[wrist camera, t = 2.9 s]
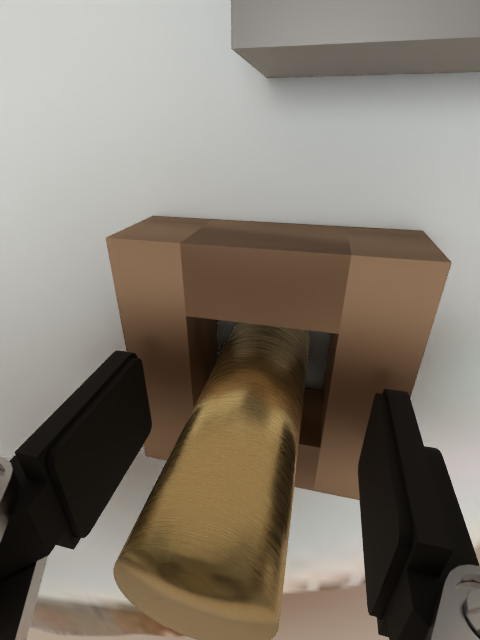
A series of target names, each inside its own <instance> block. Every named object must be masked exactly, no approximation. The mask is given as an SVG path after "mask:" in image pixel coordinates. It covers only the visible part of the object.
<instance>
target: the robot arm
mask: <svg viewBox="0 0 480 640" xmlns="http://www.w3.org/2000/svg"><path fill="white" fill-rule="evenodd" d="M151 428H152V419H151V413H150V407H149V401H148V395H147V388H146V382H145V376H144V370H143V364H142V360H141V359H140V358H138V357H137V355H136V354H135V353H132V352H125V351H115V352H114V353H113V354H112V355H111V356H110V357H109V358H108V359H107V360H106V361H105V362H104V363H103V364H102V365H101V366H100V367H99V368H98V369H97V370H96V371H95V372H94V373H93V374H92V375H91V376H90V377H89V378H88V379H87V380H86V381H85V382H84V383H83V384H82V385H81V386H80V387H79V388H78V389H77V390H76V391H75V392H74V393H73V394H72V395H71V396H70V397H69V398H68V399H67V400H66V401H65V402H64V403H63V404H62V405H61V406H60V407H59V408H58V409H57V410H56V411H55V412H54V413H53V414H52V415H51V416H50V417H49V418H48V419H47V420H46V421H45V422H44V423H43V424H42V425H41V426H40V427H39V428H38V429H37V430H36V431H35V432H34V433H33V434H32V435H31V436H30V437H29V438H28V439H27V440H26V441H25V442H24V443H23V444H22V445H21V446H20V447H19V448H18V449H17V450H16V451H15V454H16V455H15V456H14V457H13V458H12V459H11V460H10V461H8V460H7V459H6V458H2V457H0V640H26V639H27V635H28V631H29V628H30V624H31V620H32V616H33V612H34V608H35V604H36V600H37V596H38V592H39V588H40V584H41V580H42V576H43V573H44V569H45V565H46V561H47V557H48V555H49V554H50V553H51V551H52V550H53V548H54V547H55V545H59V546H62V547H66V548H70V549H73V550H74V548H75V547H76V545H77V544H78V542H79V540H80V539H81V538H84V537H86V536H87V535H88V534H89V533H90V531H91V530H92V528H93V526H94V525H95V523H96V521H97V520H98V518H99V517H100V515H101V513H102V512H103V510H104V508H105V507H106V505H107V503H108V502H109V500H110V498H111V497H112V495H113V493H114V492H115V490H116V489H117V487H118V485H119V484H120V482H121V480H122V479H123V477H124V475H125V474H126V472H127V470H128V469H129V467H130V465H131V464H132V462H133V460H134V459H135V457H136V456H137V454H138V452H139V451H140V449H141V447H142V446H143V444H144V442H145V441H146V439H147V437H148V436H149V434H150V432H151ZM358 483H359V496H360V510H361V524H362V538H363V551H364V565H365V579H366V592H367V606H368V612H369V615H371V616H375V617H377V622H378V634H379V635H383V636H386V637H389V640H480V566H479V563H478V560H477V557H476V554H475V551H474V548H473V545H472V542H471V539H470V536H469V533H468V530H467V527H466V524H465V521H464V518H463V515H462V512H461V509H460V506H459V504H458V501H457V498H456V495H455V492H454V489H453V486H452V483H451V480H450V477H449V474H448V471H447V468H446V465H445V462H444V459H443V456H442V454H441V452H440V451H439V450H438V449H437V448H431V447H425V446H424V445H423V441H422V438H421V434H420V431H419V427H418V424H417V421H416V417H415V414H414V410H413V407H412V403H411V400H410V396H409V394H408V392H405V391H398V390H391V389H384V390H383V393H382V394H381V393H376V394H375V396H374V400H373V404H372V408H371V412H370V417H369V421H368V425H367V429H366V433H365V437H364V441H363V445H362V450H361V454H360V458H359V463H358Z"/></svg>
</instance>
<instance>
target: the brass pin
mask: <svg viewBox="0 0 480 640" xmlns="http://www.w3.org/2000/svg"><path fill="white" fill-rule="evenodd" d="M309 344H310V336H309V331H308V330H301V329H292V328H284V327H275V326H266V325H258V324H249V323H240V322H237V323H236V325H235V327H234V329H233V331H232V333H231V335H230V337H229V339H228V341H227V343H226V344H225V346H224V348H223V350H222V352H221V354H220V356H219V358H218V360H217V362H216V364H215V366H214V368H213V370H212V372H211V374H210V376H209V378H208V380H207V382H206V384H205V386H204V388H203V390H202V392H201V394H200V396H199V398H198V400H197V402H196V404H195V406H194V408H193V410H192V412H191V414H190V416H189V418H188V420H187V422H186V424H185V426H184V428H183V430H182V432H181V434H180V436H179V438H178V440H177V442H176V444H175V446H174V448H173V450H172V452H171V454H170V456H169V458H168V460H167V462H166V464H165V466H164V468H163V470H162V472H161V474H160V476H159V478H158V480H157V482H156V484H155V486H154V488H153V490H152V491H151V493H150V495H149V497H148V499H147V501H146V503H145V505H144V507H143V509H142V511H141V513H140V515H139V517H138V519H137V521H136V523H135V525H134V527H133V529H132V531H131V533H130V535H129V537H128V539H127V541H126V543H125V545H124V547H123V549H122V551H121V553H120V555H119V557H118V559H117V561H116V563H115V566H114V578H115V581H116V583H117V585H118V587H119V589H120V590H121V592H122V593H123V594H124V595H125V597H126V598H127V599H128V600H129V601H130V602H131V603H132V604H133V605H134V606H136V607H137V608H138V609H139V610H141V611H142V612H143V613H144V614H146V615H147V616H149V617H150V618H152V619H153V620H155V621H157V622H158V623H160V624H162V625H164V626H166V627H168V628H170V629H172V630H174V631H176V632H178V633H181V634H183V635H186V636H188V637H191V638H194V639H197V640H271V639H272V638H273V637H274V636H275V635H276V633H277V631H278V628H279V621H280V611H281V602H282V593H283V584H284V575H285V565H286V556H287V547H288V538H289V529H290V519H291V510H292V501H293V492H294V482H295V473H296V464H297V455H298V446H299V436H300V427H301V418H302V409H303V400H304V390H305V381H306V372H307V363H308V353H309Z"/></svg>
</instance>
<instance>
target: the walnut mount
mask: <svg viewBox="0 0 480 640" xmlns="http://www.w3.org/2000/svg"><path fill="white" fill-rule="evenodd" d="M106 242H107V247H108V253H109V258H110V263H111V269H112V274H113V280H114V285H115V291H116V296H117V301H118V307H119V312H120V318H121V323H122V329H123V334H124V339H125V345H126V350H127V352H132V353H135V354H136V355H137V357H138V358H140V359H141V360H142V364H143V370H144V376H145V382H146V388H147V395H148V401H149V407H150V413H151V419H152V428H151V432H150V434H149V436H148V437H147V439H146V441H145V442H144V448H145V453H146V456H148V457H153V458H158V459H162V460H168V458H169V456H170V454H171V452H172V450H173V448H174V446H175V444H176V442H177V440H178V438H179V436H180V434H181V432H182V430H183V428H184V426H185V424H186V422H187V420H188V418H189V416H190V414H191V412H192V410H193V408H194V406H195V404H196V402H197V400H198V398H199V396H200V394H201V392H202V390H203V388H204V386H205V384H206V382H207V380H208V378H209V376H210V374H211V372H212V370H213V368H214V366H215V364H216V362H217V331H216V320H223V321H232V322H240V323H249V324H258V325H266V326H275V327H284V328H292V329H301V330H310V331H318V332H327V333H331V339H330V346H329V352H328V359H327V366H326V373H325V379H324V386H323V391H317V390H311V389H305V390H304V400H303V409H302V418H301V427H300V436H299V446H298V455H297V464H296V473H295V482H294V487H298V488H303V489H308V490H313V491H318V492H323V493H328V494H332V495H337V496H342V497H347V498H352V499H357V500H360V496H359V483H358V463H359V458H360V454H361V450H362V445H363V441H364V437H365V433H366V429H367V425H368V421H369V417H370V412H371V408H372V404H373V400H374V396H375V394H376V393H381V394H382V393H383V390H384V389H391V390H398V391H405V392H408V394H409V396H410V397H411V393H412V390H413V387H414V384H415V380H416V377H417V374H418V370H419V367H420V364H421V361H422V357H423V354H424V351H425V348H426V344H427V341H428V338H429V334H430V331H431V328H432V325H433V321H434V318H435V315H436V312H437V308H438V305H439V302H440V299H441V295H442V292H443V289H444V285H445V282H446V279H447V276H448V272H449V269H450V266H451V263H452V262H451V261H450V260H449V259H448V258H447V257H446V256H445V255H444V254H443V252H442V251H441V250H440V249H439V248H438V247H437V246H436V245H435V244H434V243H433V241H432V240H431V239H430V238H429V237H428V236H427V235H426V234H425V233H424V232H423V231H415V230H397V229H379V228H360V227H342V226H324V225H306V224H288V223H270V222H252V221H233V220H215V219H197V218H179V217H161V216H152V217H149V218H147V219H145V220H143V221H141V222H139V223H137V224H134V225H132V226H130V227H128V228H126V229H124V230H122V231H120V232H117V233H115V234H113V235H111V236H109V237H107V238H106Z"/></svg>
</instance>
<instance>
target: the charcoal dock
mask: <svg viewBox="0 0 480 640" xmlns="http://www.w3.org/2000/svg"><path fill="white" fill-rule="evenodd" d="M231 41H232V49H233V50H234V51H235V52H236V53H237V54H239V55H240V56H241V57H242V58H243V59H245V60H246V61H247V62H248V63H250V64H251V65H252V66H253V67H254V68H256V69H257V70H258V71H259V72H261V73H262V74H263V75H264V76H265V77H267V78H279V77H314V76H348V75H382V74H417V73H451V72H480V0H231Z"/></svg>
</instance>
